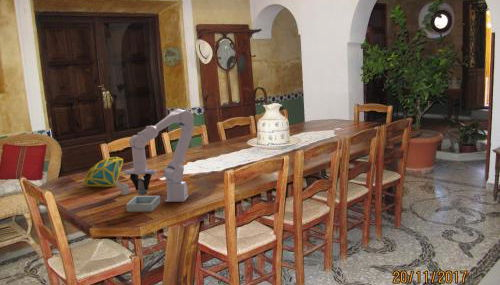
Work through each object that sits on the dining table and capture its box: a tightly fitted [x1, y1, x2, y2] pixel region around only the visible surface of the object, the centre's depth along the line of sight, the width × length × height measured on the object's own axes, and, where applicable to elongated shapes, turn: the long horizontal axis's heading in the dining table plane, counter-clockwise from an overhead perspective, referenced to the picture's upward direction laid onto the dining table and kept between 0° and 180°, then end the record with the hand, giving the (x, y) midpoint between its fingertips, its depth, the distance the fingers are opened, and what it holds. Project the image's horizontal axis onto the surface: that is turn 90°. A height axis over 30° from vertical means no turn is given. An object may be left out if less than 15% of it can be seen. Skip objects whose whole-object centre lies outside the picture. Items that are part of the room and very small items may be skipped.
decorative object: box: [84, 156, 124, 188], centre depth 253 cm, size 23×23×15 cm
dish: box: [125, 195, 161, 213], centre depth 217 cm, size 12×12×4 cm
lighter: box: [115, 180, 130, 196], centre depth 237 cm, size 7×2×8 cm, turn 141°
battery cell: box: [137, 176, 148, 196], centre depth 215 cm, size 4×4×8 cm
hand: (142, 189), depth 216 cm, fingers closed on battery cell, 4 cm apart
